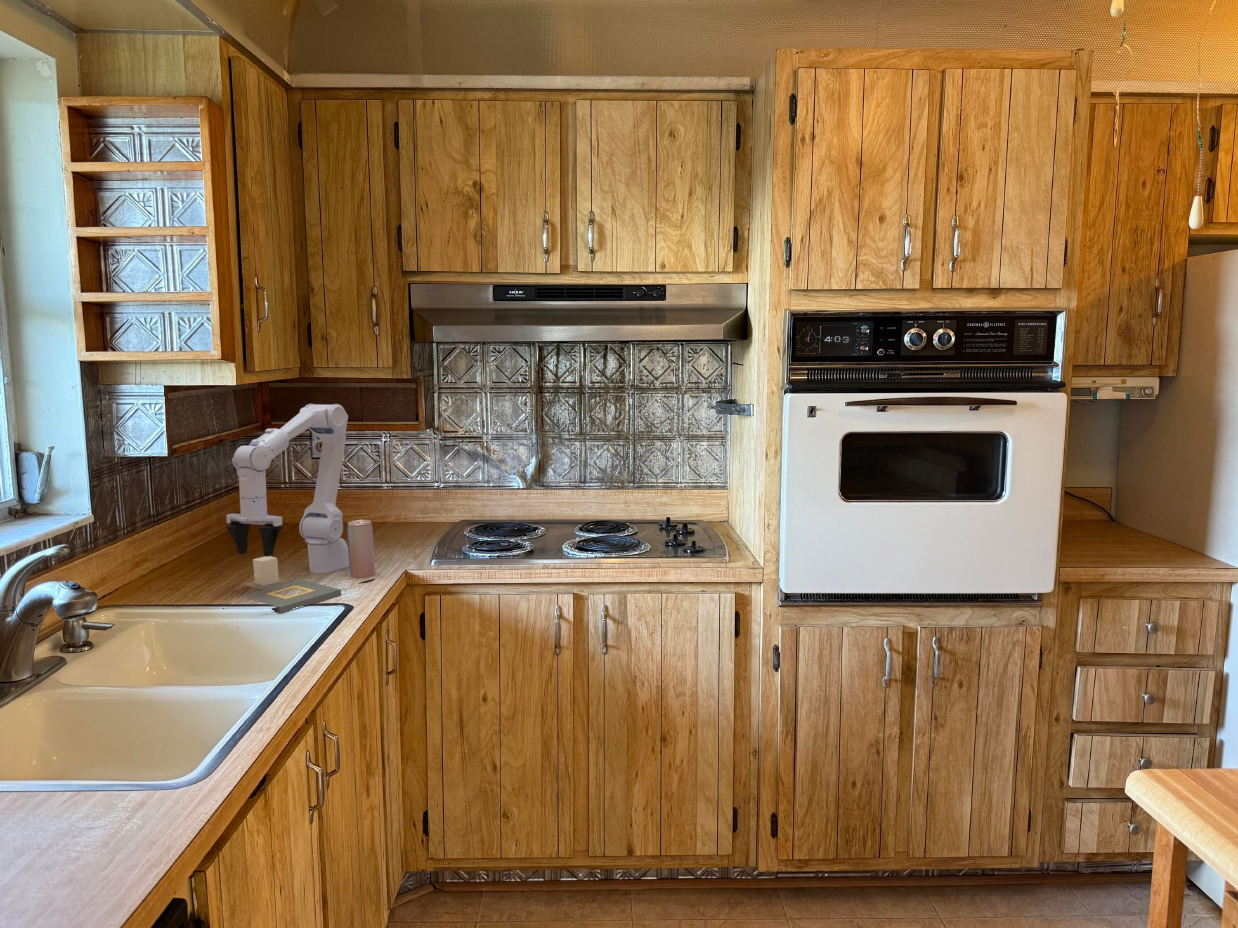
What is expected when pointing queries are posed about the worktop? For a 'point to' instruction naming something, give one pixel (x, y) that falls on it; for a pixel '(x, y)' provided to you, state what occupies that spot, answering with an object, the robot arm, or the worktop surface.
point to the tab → (266, 585)
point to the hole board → (286, 604)
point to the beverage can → (361, 549)
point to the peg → (266, 570)
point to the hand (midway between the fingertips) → (255, 554)
